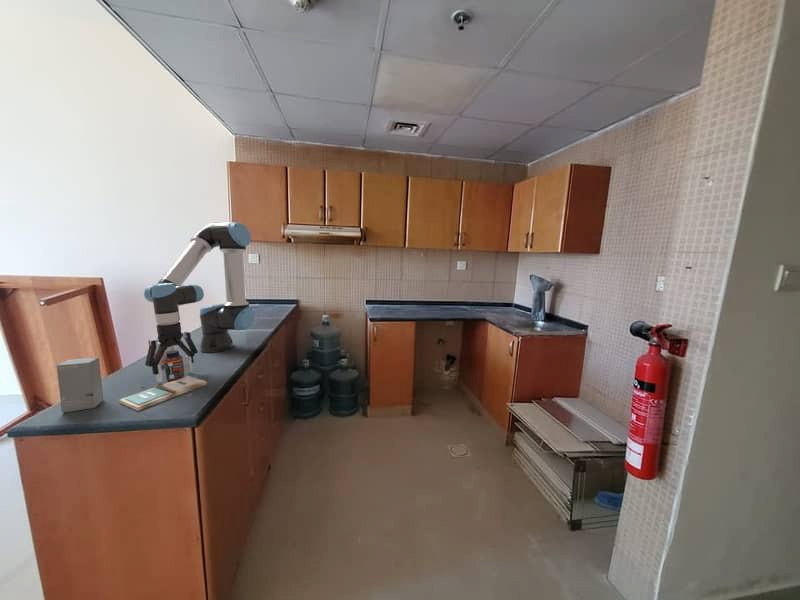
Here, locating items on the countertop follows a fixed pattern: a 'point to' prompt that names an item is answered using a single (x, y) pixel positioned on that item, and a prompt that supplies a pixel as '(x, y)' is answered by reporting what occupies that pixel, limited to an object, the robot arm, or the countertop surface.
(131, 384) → the countertop surface
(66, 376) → the skincare box
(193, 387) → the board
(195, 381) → the cream pad
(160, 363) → the white product box
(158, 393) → the teal pad
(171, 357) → the supplement bottle
